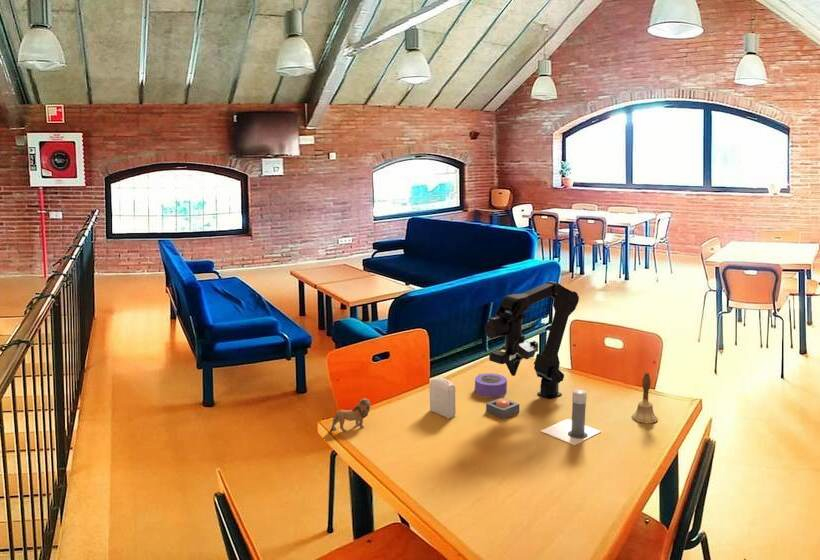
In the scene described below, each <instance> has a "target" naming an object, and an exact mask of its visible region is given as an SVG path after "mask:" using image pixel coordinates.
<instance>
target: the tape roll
mask: <svg viewBox="0 0 820 560" xmlns="http://www.w3.org/2000/svg"><path fill="white" fill-rule="evenodd" d="M507 390H508V379H507V377H506V376H504V375H502V374H499V373H492V372H491V373H482V374H478V375H477V376H475V378H474V392H475V394H477V395H478V396H480V395H481V397H484V396H485V397H486V398H499V397H500V398H501V397H504V396H505V395H507Z"/></svg>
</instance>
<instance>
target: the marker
mask: <svg viewBox="0 0 820 560" xmlns="http://www.w3.org/2000/svg"><path fill="white" fill-rule="evenodd" d="M587 394H588V393H587V392H586V391H585V390H582V389H574V390H573V391H572V400H571V401H572V405H571V406H572V408H571V420H572V427H571V435H573V436H575V437H583V436H584V431H585V425H586V410H587V409H586V407H587V405H586V403H587Z"/></svg>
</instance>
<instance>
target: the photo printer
mask: <svg viewBox="0 0 820 560" xmlns="http://www.w3.org/2000/svg"><path fill="white" fill-rule="evenodd" d="M456 408H457V407H456V386H455V385H454V384H453V382H451V381H449V380H448V379H446V378H443V377H434V378H431V380H430V381H429V410H430V411H432V412H433V413H436V414H438V415H440V416H442V417H445V418H448V419H452V418H454V417H455V415H456V412H457V411H456Z"/></svg>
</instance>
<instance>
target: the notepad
mask: <svg viewBox="0 0 820 560" xmlns="http://www.w3.org/2000/svg"><path fill="white" fill-rule="evenodd" d="M571 427H572V419H570V418H566V419H563V420H562V421H559V422H557V423H555V424H553V425H550V426H548V427H546V428H544V429H541V430H540V432H541V433H543V434H545V435H548V436H550V437H553V438H555V439H558V440H560V441H562V442H565V443H568V444H570V445H572V446H576V445H578V444H580V443H582V442H585V441H586V440H588V439H591V438H592V437H595V436H596V435H597V436H598V434H601V433H602V431H601V430H598V429H596V428H594V427H591V426H588V425H586V424H585V431H584V436H583V437H575V436H573V435H571Z"/></svg>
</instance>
